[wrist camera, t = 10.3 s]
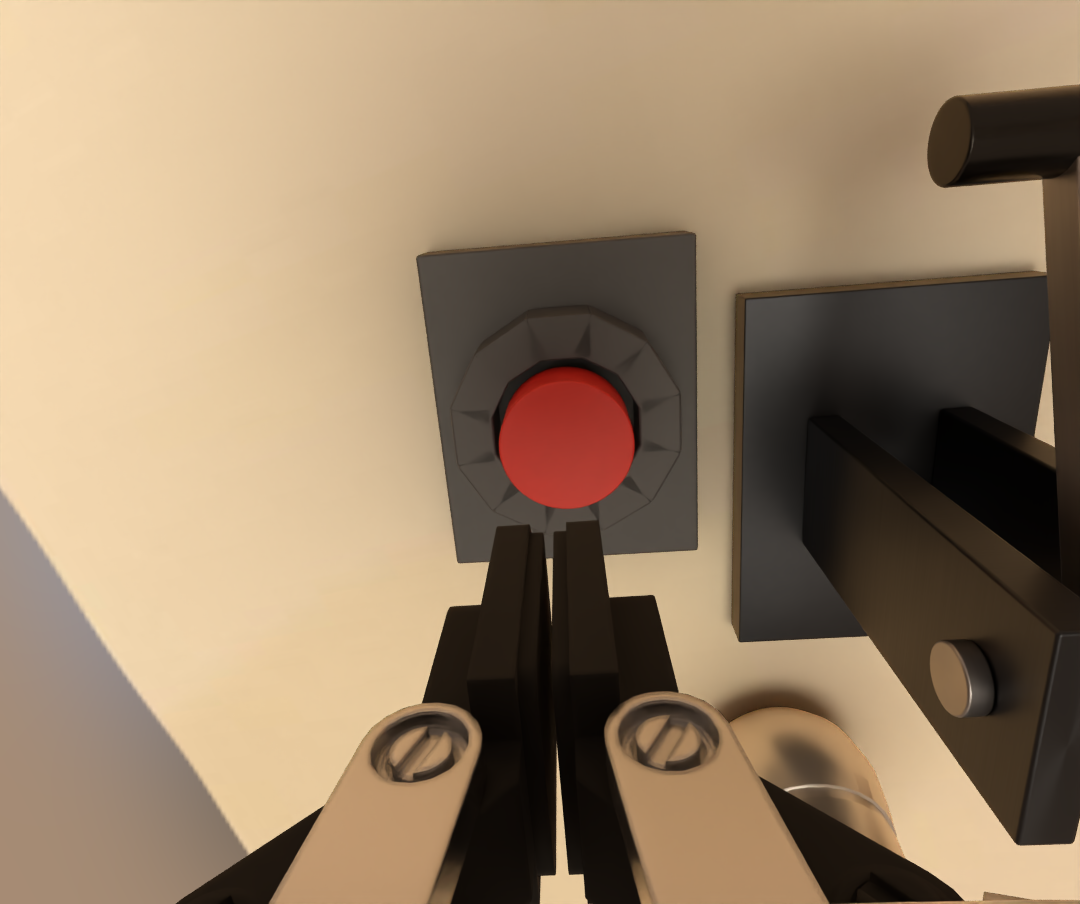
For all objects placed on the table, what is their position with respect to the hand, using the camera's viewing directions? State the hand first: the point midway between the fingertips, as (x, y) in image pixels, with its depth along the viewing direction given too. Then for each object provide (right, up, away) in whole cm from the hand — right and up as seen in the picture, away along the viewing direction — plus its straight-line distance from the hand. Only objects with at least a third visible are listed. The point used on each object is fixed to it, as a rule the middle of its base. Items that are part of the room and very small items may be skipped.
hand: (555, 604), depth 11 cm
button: (+1, +3, +9) cm, 9 cm away
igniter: (+1, +4, +12) cm, 12 cm away
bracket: (+11, +2, +12) cm, 16 cm away
